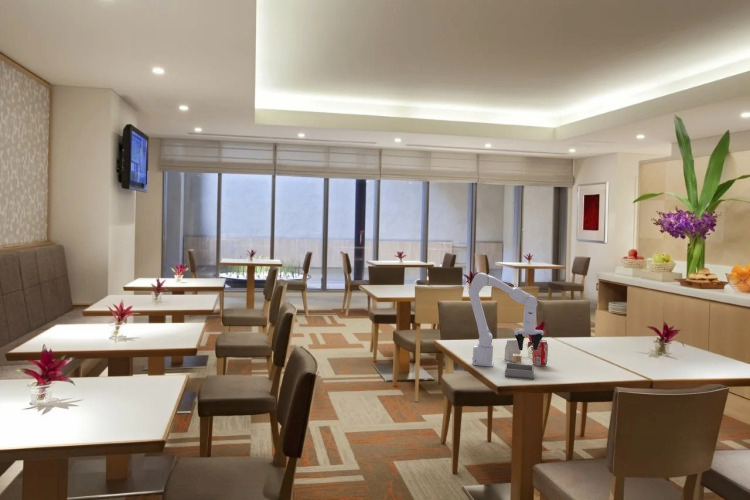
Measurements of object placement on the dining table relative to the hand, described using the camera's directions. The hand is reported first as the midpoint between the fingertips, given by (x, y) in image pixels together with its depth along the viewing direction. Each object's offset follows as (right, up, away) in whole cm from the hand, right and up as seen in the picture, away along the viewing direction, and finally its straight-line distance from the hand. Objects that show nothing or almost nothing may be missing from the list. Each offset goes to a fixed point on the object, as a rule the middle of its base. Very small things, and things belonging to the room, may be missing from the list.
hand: (527, 349), depth 279 cm
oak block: (-5, -9, +1) cm, 10 cm away
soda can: (+8, -9, +9) cm, 15 cm away
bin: (-7, -9, -12) cm, 17 cm away
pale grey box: (-3, -8, +18) cm, 20 cm away
